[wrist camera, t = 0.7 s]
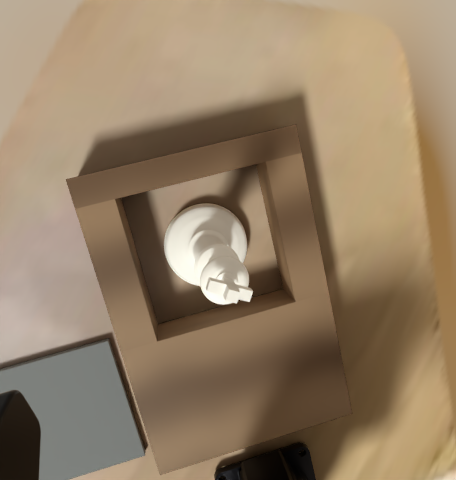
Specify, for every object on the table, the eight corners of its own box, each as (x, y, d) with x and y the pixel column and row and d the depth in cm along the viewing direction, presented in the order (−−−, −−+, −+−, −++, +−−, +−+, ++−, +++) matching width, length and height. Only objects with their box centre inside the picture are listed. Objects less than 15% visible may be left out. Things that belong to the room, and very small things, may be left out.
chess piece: (177, 192, 23) (185, 210, 14) (256, 216, 24) (318, 249, 15) (154, 272, 24) (146, 344, 14) (232, 293, 25) (275, 373, 15)
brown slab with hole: (335, 391, 27) (352, 413, 25) (160, 446, 26) (160, 475, 24) (282, 128, 24) (296, 124, 21) (76, 178, 22) (65, 179, 20)
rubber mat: (145, 451, 26) (145, 455, 25) (18, 490, 25) (15, 496, 25) (108, 338, 24) (107, 340, 24) (-29, 377, 23) (-32, 380, 23)
